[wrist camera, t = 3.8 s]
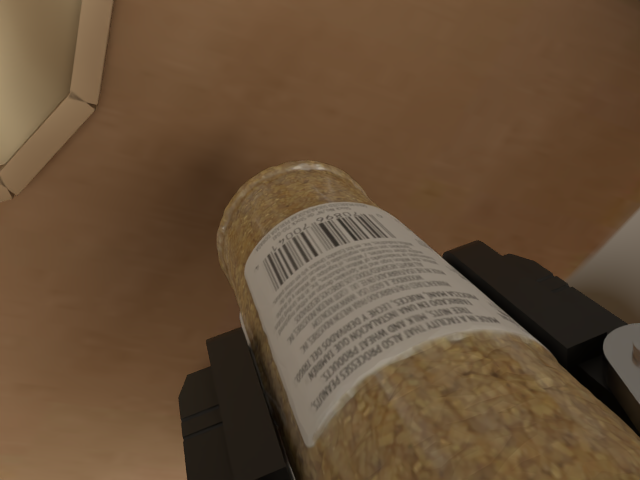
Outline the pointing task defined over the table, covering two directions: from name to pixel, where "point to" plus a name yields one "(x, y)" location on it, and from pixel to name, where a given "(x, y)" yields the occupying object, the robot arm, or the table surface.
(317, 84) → the table surface
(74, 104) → the condiment caddy
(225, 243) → the seasoning bottle
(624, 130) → the table surface
